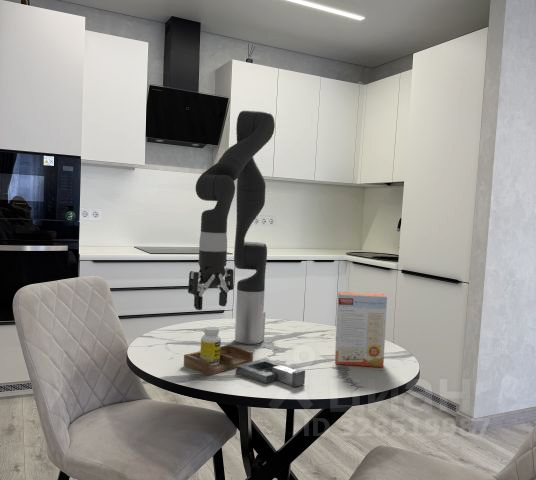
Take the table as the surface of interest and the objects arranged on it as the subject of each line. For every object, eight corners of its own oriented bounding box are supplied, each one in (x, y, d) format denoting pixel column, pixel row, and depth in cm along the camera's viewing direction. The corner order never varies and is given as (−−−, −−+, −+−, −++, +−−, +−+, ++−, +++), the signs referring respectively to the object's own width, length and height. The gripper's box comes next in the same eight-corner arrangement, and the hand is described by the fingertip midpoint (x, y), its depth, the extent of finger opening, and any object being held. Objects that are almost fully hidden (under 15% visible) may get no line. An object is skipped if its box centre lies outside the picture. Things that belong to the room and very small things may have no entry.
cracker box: (381, 362, 151) (385, 293, 150) (383, 368, 146) (387, 296, 144) (334, 358, 153) (338, 290, 152) (334, 364, 147) (338, 293, 146)
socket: (263, 365, 143) (264, 358, 143) (293, 375, 136) (293, 367, 135) (235, 373, 135) (236, 365, 135) (265, 384, 127) (266, 376, 127)
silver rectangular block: (280, 375, 134) (281, 362, 134) (304, 384, 128) (305, 370, 128) (271, 378, 131) (271, 365, 131) (295, 387, 126) (296, 373, 125)
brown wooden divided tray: (228, 355, 151) (229, 344, 151) (252, 362, 145) (253, 352, 144) (183, 366, 139) (184, 354, 139) (207, 375, 132) (207, 363, 132)
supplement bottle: (216, 367, 135) (217, 331, 135) (197, 365, 136) (198, 329, 136) (222, 361, 141) (223, 327, 140) (203, 359, 142) (205, 325, 141)
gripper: (201, 251, 129) (199, 313, 130) (241, 249, 139) (239, 307, 140) (183, 248, 134) (181, 308, 135) (223, 246, 144) (221, 302, 145)
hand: (210, 307), depth 138 cm, fingers open, 8 cm apart
